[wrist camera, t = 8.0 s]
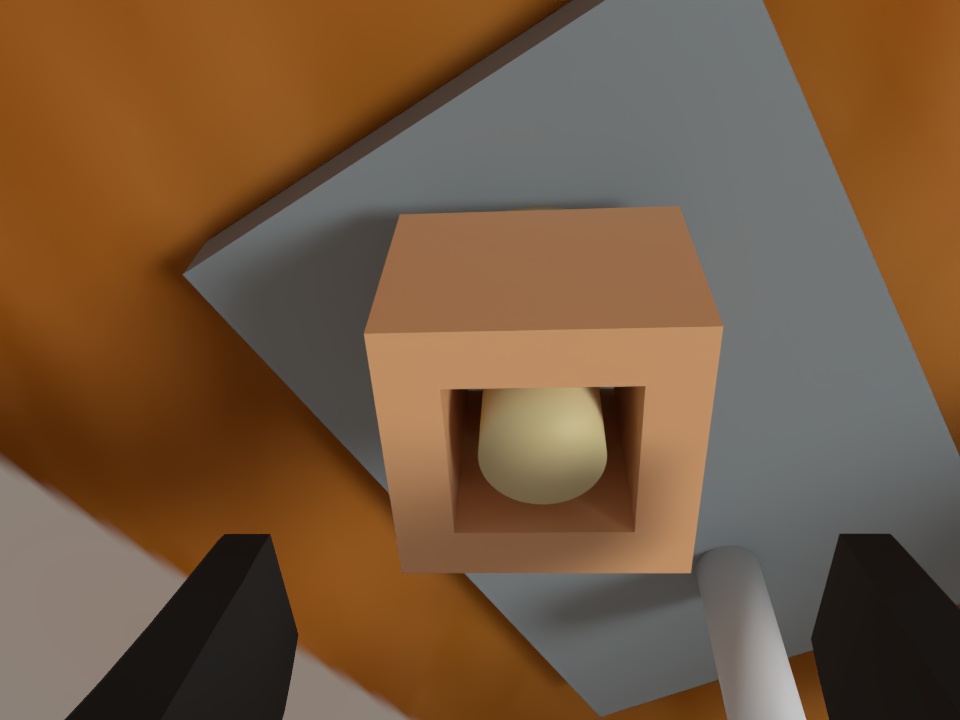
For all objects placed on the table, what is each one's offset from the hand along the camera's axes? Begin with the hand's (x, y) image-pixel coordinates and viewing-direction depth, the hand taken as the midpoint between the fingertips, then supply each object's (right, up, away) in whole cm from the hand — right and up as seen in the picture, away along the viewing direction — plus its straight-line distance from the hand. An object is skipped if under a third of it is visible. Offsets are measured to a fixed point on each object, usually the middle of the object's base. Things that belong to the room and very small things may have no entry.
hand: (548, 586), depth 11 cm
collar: (0, +4, +5) cm, 7 cm away
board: (+3, +2, +10) cm, 10 cm away
